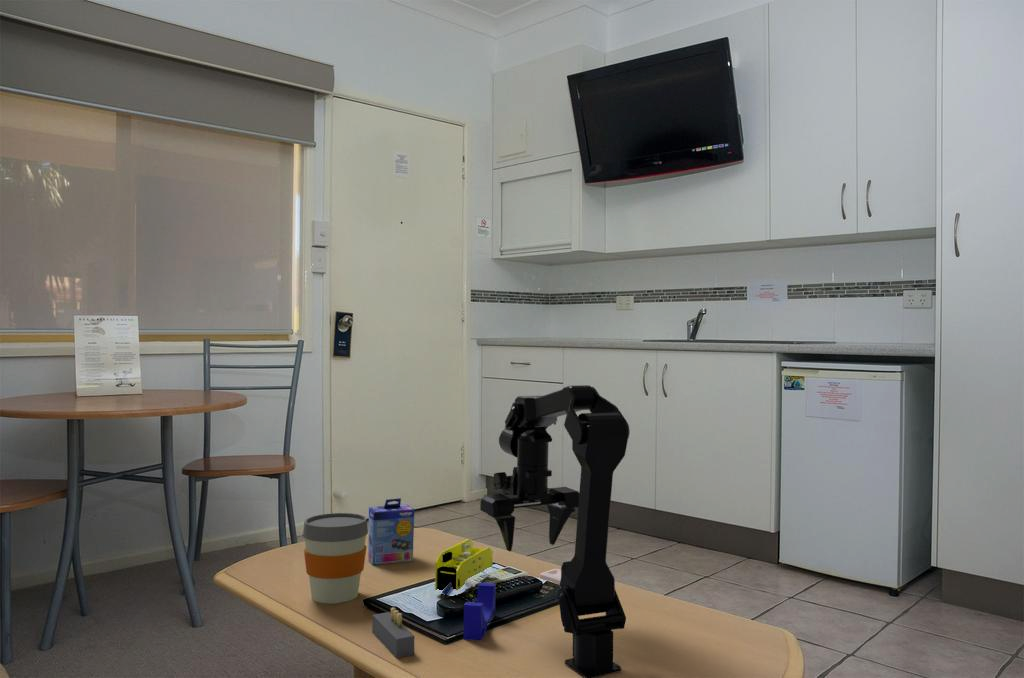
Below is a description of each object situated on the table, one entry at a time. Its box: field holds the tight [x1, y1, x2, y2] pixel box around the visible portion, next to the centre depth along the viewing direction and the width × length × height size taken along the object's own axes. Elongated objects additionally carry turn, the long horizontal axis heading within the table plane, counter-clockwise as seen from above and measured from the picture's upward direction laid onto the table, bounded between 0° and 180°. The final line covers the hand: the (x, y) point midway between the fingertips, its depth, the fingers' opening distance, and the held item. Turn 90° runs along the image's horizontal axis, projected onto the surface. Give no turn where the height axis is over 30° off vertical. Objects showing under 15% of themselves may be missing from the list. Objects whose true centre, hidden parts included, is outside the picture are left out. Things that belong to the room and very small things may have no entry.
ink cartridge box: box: [367, 498, 415, 566], centre depth 171 cm, size 10×6×14 cm, turn 115°
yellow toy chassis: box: [434, 538, 494, 591], centre depth 153 cm, size 16×6×8 cm, turn 156°
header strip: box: [371, 607, 415, 659], centre depth 123 cm, size 12×3×5 cm, turn 29°
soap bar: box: [539, 568, 561, 584], centre depth 155 cm, size 5×9×2 cm, turn 44°
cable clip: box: [463, 582, 497, 641], centre depth 131 cm, size 12×4×6 cm, turn 170°
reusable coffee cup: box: [302, 512, 369, 604], centre depth 146 cm, size 13×13×15 cm
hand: (530, 547), depth 137 cm, fingers open, 9 cm apart
